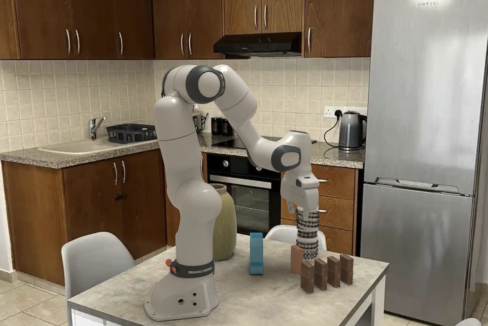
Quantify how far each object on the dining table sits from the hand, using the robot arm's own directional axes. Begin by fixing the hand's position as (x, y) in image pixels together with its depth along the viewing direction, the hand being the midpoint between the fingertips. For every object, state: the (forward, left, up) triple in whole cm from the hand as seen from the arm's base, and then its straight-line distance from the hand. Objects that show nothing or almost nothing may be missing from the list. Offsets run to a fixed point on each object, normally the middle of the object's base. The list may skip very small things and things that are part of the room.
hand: (298, 216), depth 171 cm
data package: (-12, +8, -21) cm, 25 cm away
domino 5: (+11, -14, -20) cm, 27 cm away
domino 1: (0, 0, -20) cm, 20 cm away
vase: (-21, +27, -21) cm, 40 cm away
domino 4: (+6, -14, -20) cm, 25 cm away
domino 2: (-4, -14, -20) cm, 25 cm away
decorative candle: (+10, +10, -21) cm, 25 cm away
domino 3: (+1, -14, -20) cm, 25 cm away
